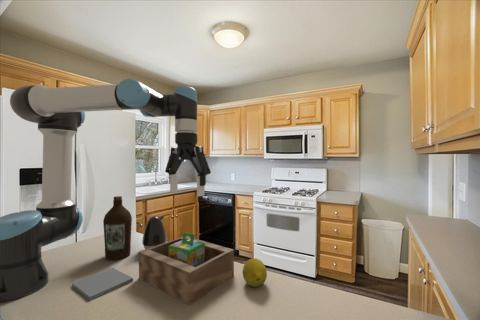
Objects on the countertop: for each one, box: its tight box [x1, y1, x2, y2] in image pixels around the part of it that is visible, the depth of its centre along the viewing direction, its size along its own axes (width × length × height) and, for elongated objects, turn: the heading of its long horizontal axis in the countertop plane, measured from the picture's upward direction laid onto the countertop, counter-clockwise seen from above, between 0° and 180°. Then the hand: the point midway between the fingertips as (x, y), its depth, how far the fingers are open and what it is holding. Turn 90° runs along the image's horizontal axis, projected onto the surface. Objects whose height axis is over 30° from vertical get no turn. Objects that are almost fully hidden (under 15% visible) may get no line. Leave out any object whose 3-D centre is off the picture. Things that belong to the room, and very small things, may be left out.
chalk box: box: [169, 232, 205, 267], centre depth 81 cm, size 9×9×15 cm
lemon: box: [242, 258, 268, 288], centre depth 76 cm, size 11×8×8 cm
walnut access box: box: [138, 236, 235, 306], centre depth 81 cm, size 25×20×9 cm
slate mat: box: [71, 267, 134, 301], centre depth 77 cm, size 13×13×1 cm
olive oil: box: [103, 195, 133, 261], centre depth 98 cm, size 11×11×25 cm
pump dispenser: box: [142, 215, 168, 250], centre depth 105 cm, size 10×10×15 cm
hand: (186, 194), depth 81 cm, fingers open, 13 cm apart
